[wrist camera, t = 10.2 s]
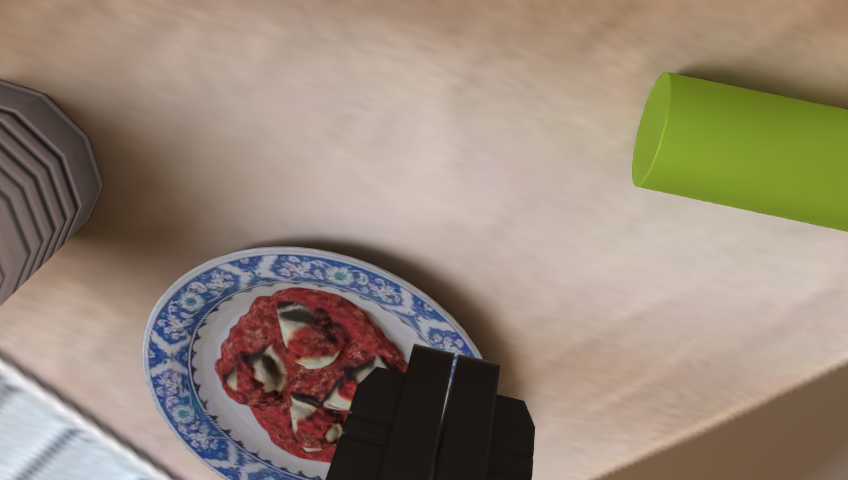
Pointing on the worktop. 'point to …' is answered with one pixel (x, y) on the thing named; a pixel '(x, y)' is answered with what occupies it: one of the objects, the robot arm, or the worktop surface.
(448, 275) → the worktop surface
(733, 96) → the soap dispenser
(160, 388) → the ceramic plate
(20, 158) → the can
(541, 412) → the worktop surface
